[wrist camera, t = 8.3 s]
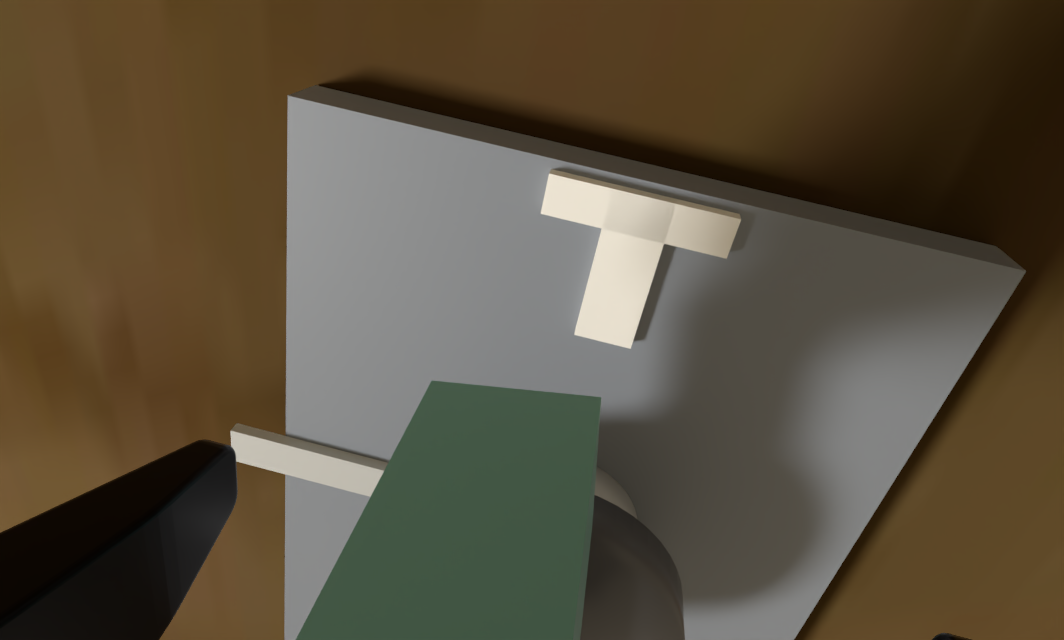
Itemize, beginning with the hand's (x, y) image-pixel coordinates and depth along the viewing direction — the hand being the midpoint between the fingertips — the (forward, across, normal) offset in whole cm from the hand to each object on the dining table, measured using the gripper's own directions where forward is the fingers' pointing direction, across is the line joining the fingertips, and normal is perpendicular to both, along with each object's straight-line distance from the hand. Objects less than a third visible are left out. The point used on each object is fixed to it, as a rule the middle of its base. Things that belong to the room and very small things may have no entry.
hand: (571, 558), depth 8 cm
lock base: (+8, 0, +6) cm, 10 cm away
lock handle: (+4, 0, +4) cm, 6 cm away
